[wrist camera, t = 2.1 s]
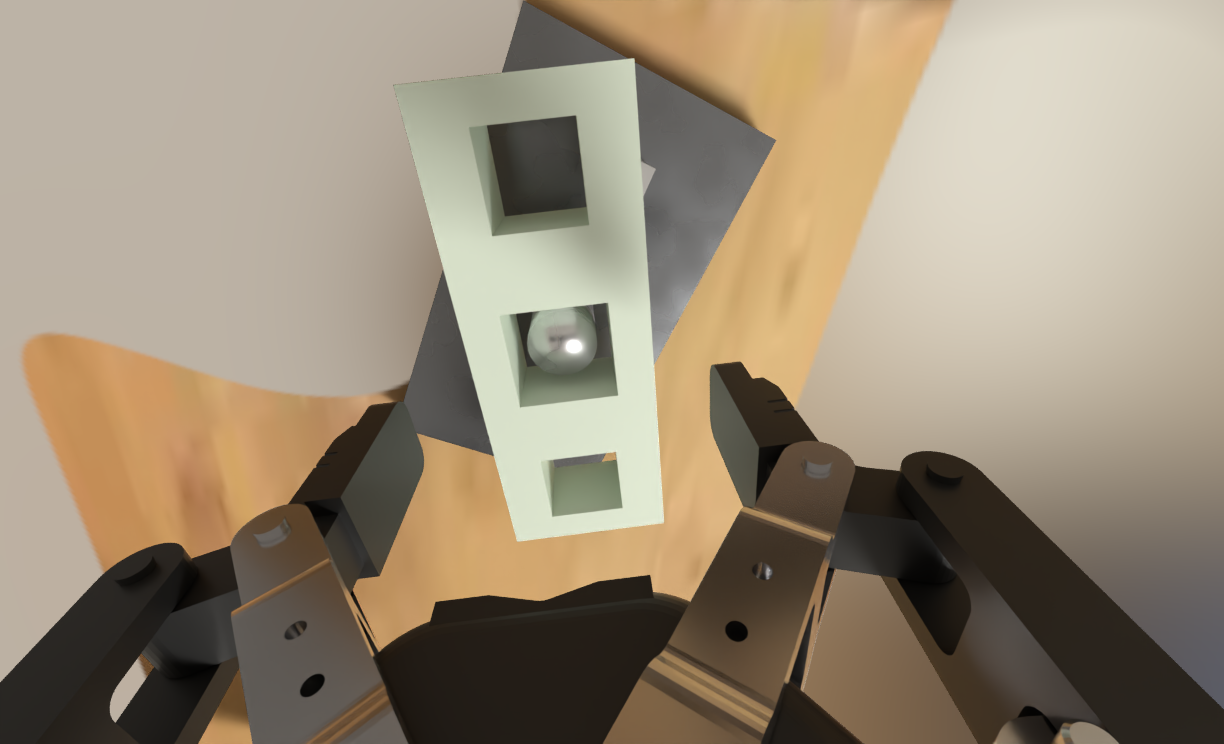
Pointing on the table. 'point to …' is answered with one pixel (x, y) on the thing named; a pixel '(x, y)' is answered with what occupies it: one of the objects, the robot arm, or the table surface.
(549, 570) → the table surface
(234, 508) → the table surface
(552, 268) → the flange bar
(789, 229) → the table surface
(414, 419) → the base
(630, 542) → the table surface
